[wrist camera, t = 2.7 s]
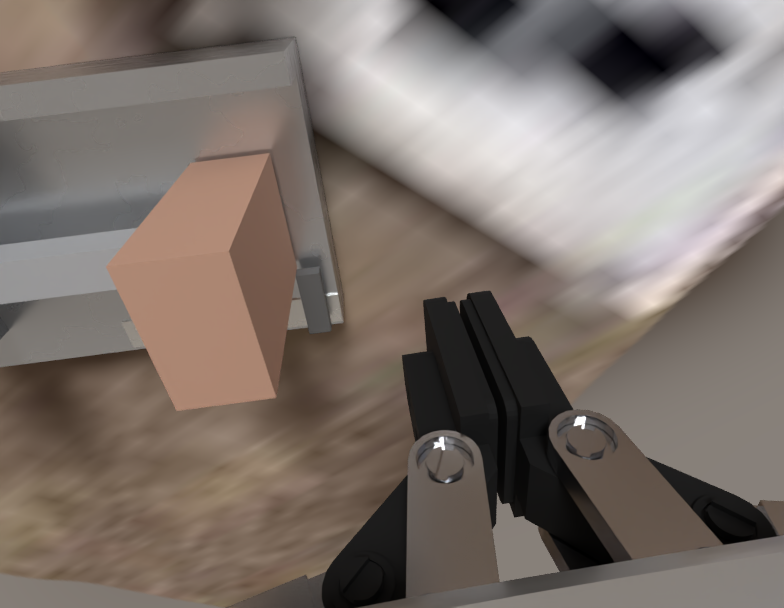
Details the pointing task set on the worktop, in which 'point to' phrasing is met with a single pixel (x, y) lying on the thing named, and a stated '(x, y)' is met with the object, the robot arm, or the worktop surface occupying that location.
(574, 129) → the worktop surface
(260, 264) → the plunger
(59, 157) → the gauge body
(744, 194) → the worktop surface
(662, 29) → the worktop surface
